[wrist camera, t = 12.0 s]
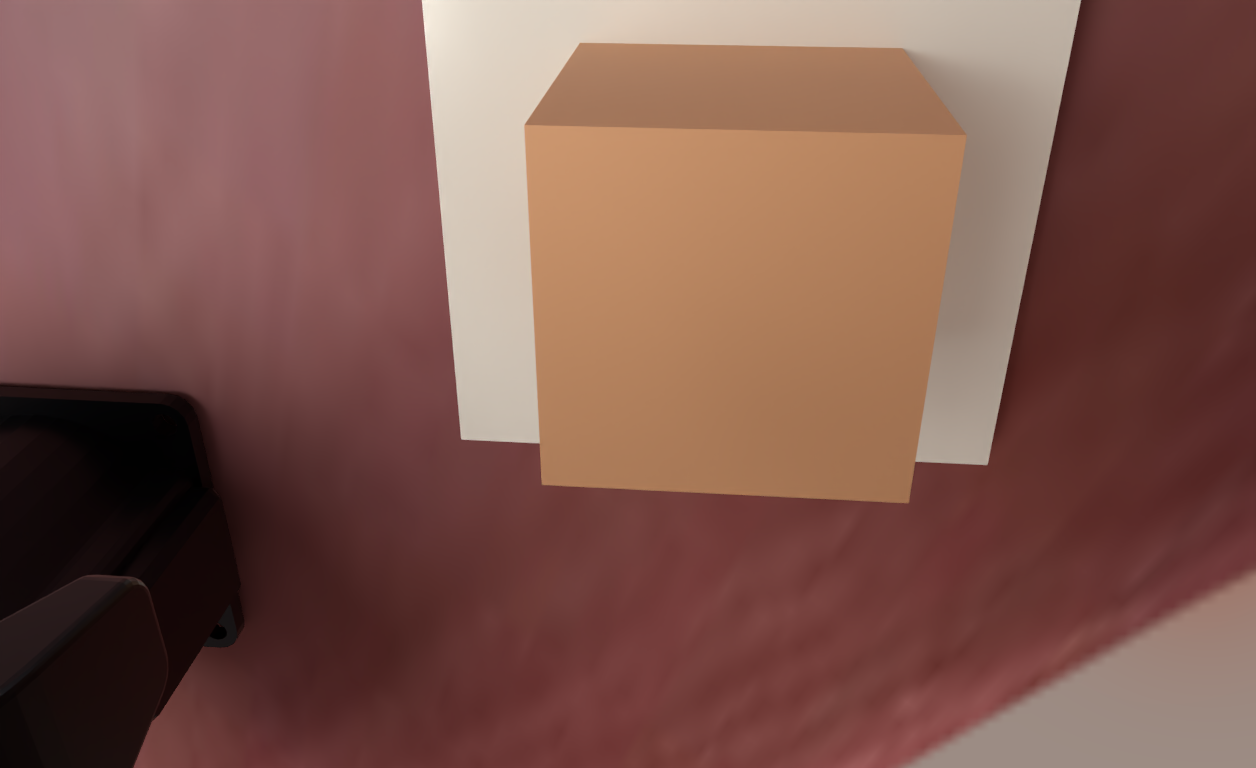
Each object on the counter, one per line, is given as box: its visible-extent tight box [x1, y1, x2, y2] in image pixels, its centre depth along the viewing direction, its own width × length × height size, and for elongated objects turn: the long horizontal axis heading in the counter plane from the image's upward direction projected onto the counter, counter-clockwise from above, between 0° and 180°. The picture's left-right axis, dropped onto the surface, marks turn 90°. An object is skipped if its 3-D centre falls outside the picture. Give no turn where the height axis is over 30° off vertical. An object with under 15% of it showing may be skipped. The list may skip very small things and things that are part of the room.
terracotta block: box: [524, 43, 967, 503], centre depth 15 cm, size 5×5×5 cm
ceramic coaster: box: [422, 0, 1081, 465], centre depth 18 cm, size 10×10×1 cm
